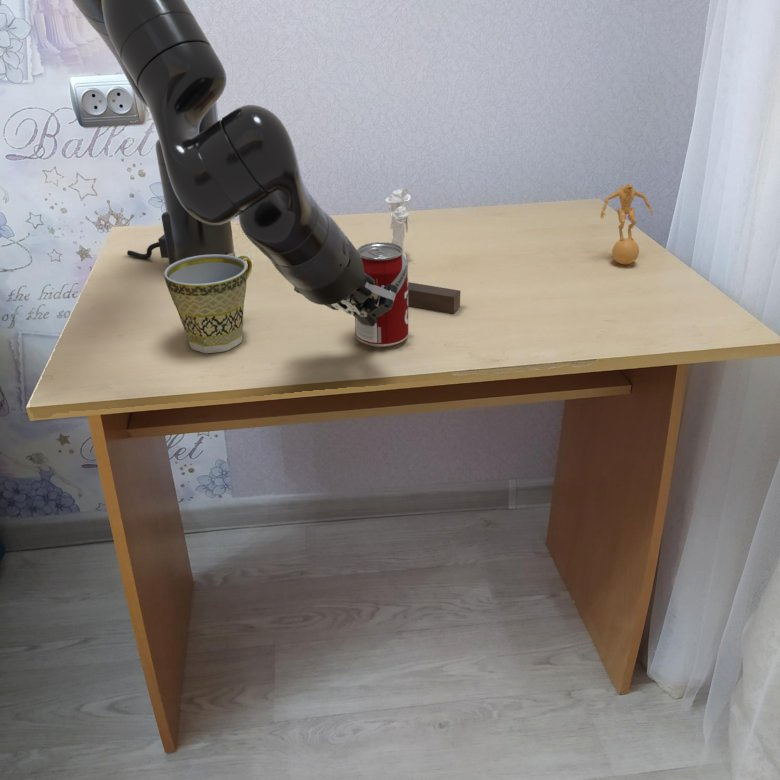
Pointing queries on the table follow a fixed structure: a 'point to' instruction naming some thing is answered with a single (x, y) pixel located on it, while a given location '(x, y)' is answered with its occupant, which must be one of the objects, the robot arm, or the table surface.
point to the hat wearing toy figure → (399, 215)
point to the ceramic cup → (210, 299)
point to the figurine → (624, 248)
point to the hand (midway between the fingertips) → (371, 318)
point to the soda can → (385, 269)
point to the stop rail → (433, 298)
